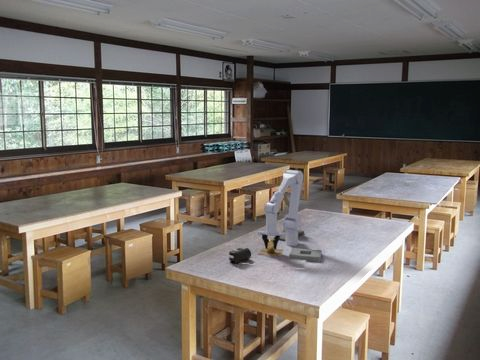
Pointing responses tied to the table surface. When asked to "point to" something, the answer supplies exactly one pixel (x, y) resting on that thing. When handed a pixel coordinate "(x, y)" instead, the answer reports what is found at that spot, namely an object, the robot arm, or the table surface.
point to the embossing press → (290, 218)
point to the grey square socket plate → (306, 254)
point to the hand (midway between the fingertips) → (270, 248)
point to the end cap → (239, 255)
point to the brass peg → (270, 245)
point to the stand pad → (264, 252)
